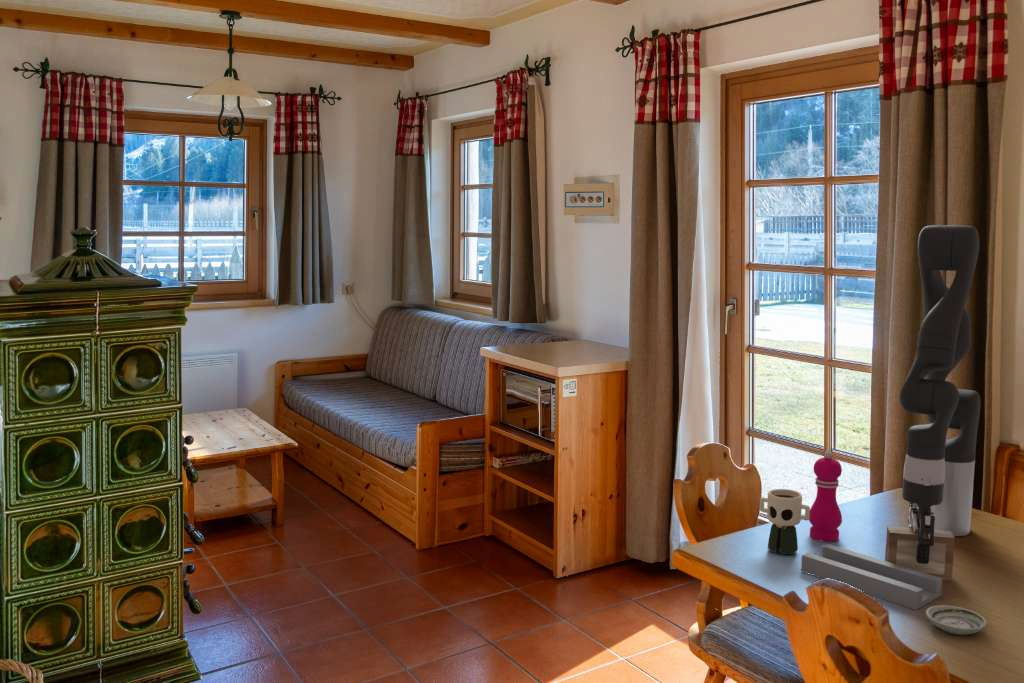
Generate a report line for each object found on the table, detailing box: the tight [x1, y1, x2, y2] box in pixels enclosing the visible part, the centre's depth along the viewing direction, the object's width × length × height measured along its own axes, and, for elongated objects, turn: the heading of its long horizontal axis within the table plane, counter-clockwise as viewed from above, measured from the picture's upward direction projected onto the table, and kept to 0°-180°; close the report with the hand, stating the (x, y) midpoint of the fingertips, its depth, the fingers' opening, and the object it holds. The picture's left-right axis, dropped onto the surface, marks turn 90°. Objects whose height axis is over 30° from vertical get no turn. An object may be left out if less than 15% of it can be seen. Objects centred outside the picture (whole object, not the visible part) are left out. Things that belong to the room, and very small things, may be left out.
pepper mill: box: [808, 450, 843, 543], centre depth 205 cm, size 7×7×20 cm
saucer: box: [925, 604, 987, 636], centre depth 161 cm, size 10×10×2 cm
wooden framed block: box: [884, 525, 956, 582], centre depth 184 cm, size 4×12×9 cm, turn 75°
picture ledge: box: [800, 543, 943, 611], centre depth 180 cm, size 10×24×4 cm, turn 40°
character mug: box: [759, 488, 811, 555], centre depth 197 cm, size 11×7×13 cm, turn 55°
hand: (918, 555), depth 184 cm, fingers open, 8 cm apart
